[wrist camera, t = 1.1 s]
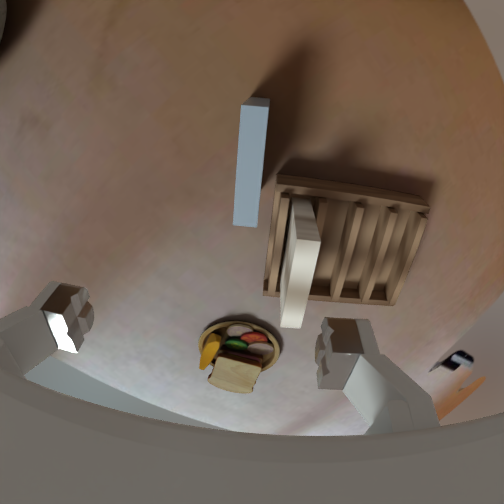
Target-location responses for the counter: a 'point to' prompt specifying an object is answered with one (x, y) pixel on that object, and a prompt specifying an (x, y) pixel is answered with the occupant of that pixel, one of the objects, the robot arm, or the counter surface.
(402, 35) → the counter surface
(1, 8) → the ceramic pot
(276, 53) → the counter surface
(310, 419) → the counter surface
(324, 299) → the rack
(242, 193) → the grey upright panel
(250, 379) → the toy sandwich meal
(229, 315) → the counter surface
